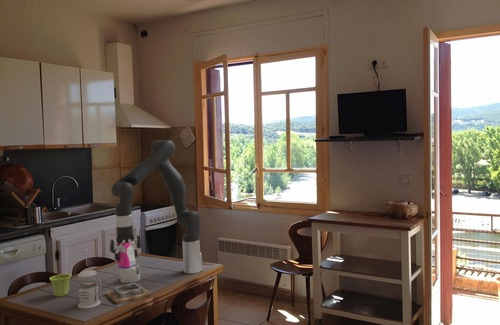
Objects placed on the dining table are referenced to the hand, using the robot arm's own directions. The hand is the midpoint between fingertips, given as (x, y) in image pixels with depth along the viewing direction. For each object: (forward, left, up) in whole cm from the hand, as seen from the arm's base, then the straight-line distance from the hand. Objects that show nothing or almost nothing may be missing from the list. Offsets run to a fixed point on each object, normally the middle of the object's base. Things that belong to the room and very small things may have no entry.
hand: (126, 259), depth 199 cm
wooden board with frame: (0, 0, -17) cm, 17 cm away
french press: (+17, 0, -17) cm, 24 cm away
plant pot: (+25, -23, -17) cm, 38 cm away
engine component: (-9, -23, -17) cm, 30 cm away
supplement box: (0, 0, -4) cm, 4 cm away
